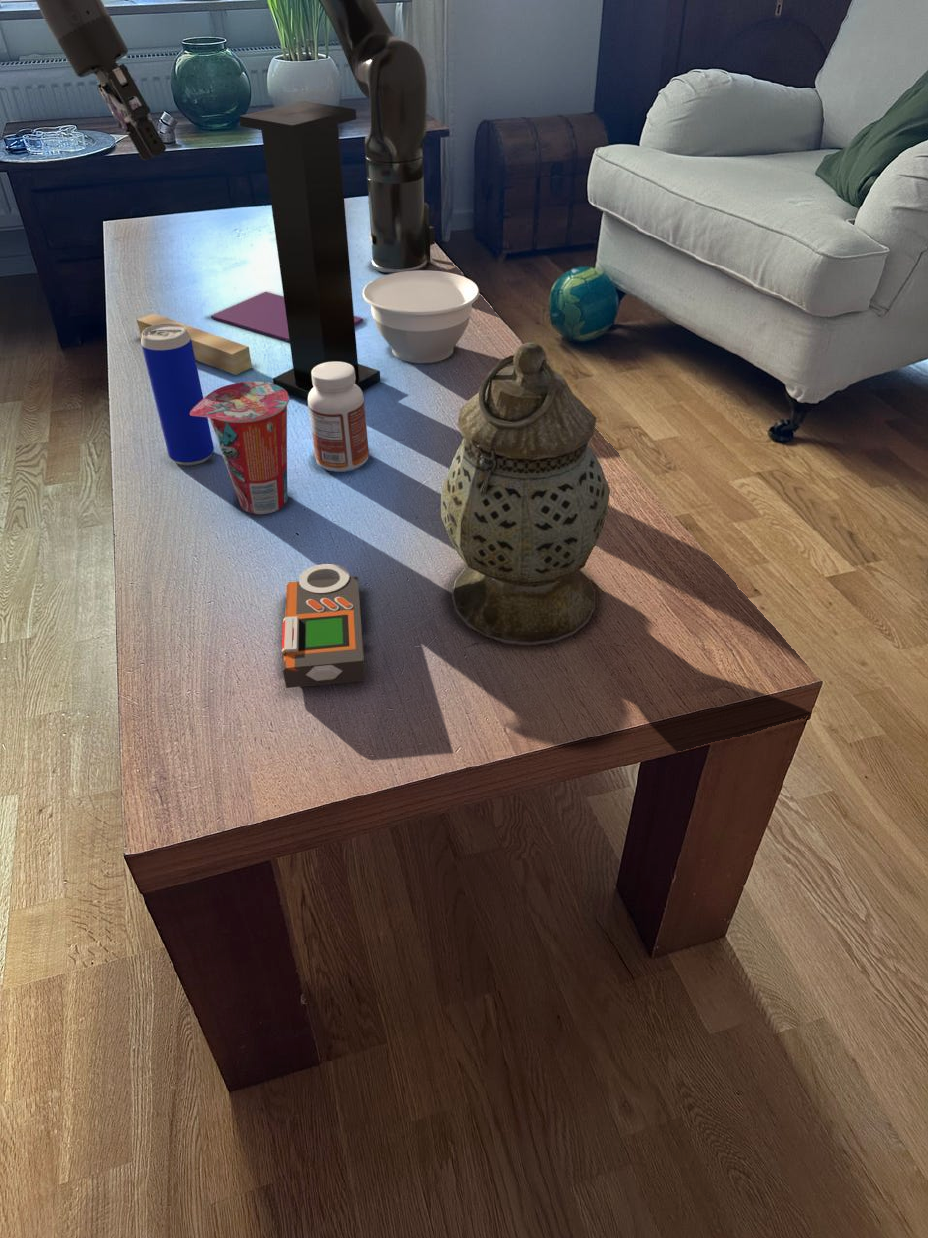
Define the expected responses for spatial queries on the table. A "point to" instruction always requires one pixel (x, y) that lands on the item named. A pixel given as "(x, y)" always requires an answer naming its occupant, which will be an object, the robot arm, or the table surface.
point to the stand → (311, 237)
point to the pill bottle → (337, 417)
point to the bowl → (421, 312)
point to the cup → (251, 440)
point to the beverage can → (177, 392)
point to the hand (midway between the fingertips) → (155, 155)
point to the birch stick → (208, 346)
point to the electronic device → (323, 628)
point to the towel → (261, 315)
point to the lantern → (524, 504)
